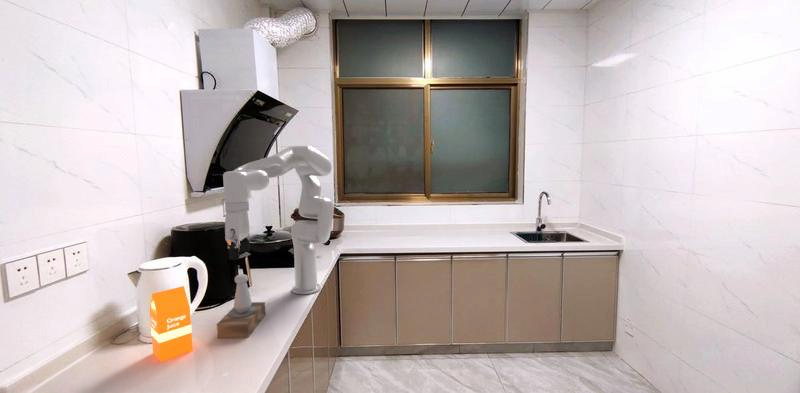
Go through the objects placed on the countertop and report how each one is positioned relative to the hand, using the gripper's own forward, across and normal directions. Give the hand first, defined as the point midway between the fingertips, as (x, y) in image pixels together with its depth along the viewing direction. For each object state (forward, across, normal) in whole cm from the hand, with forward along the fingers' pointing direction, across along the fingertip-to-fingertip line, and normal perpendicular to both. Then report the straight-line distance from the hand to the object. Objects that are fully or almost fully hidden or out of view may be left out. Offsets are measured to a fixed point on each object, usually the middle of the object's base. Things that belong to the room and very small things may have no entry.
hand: (239, 255), depth 129 cm
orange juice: (+26, +17, -15) cm, 35 cm away
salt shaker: (+20, 0, 0) cm, 20 cm away
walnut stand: (+26, 0, 0) cm, 26 cm away
